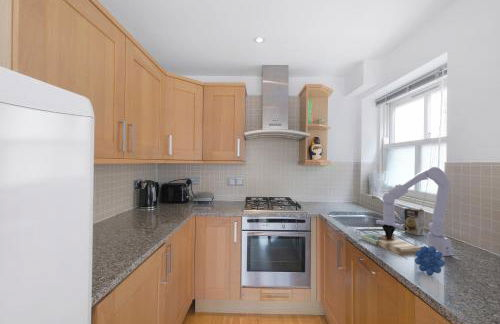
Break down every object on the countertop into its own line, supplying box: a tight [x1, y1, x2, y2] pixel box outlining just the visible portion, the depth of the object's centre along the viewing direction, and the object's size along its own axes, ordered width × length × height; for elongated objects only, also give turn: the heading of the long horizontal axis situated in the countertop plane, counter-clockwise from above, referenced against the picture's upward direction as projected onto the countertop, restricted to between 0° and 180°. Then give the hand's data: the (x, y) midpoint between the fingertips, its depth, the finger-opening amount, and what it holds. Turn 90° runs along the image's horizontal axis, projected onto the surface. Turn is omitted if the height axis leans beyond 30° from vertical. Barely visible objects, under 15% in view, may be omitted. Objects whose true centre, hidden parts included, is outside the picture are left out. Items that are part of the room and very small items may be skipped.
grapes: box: [414, 245, 446, 276], centre depth 102 cm, size 12×7×12 cm, turn 20°
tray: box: [359, 233, 383, 246], centre depth 148 cm, size 13×14×2 cm
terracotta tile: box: [381, 233, 396, 240], centre depth 143 cm, size 5×5×2 cm
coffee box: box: [404, 207, 425, 236], centre depth 166 cm, size 9×6×16 cm
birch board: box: [377, 238, 422, 256], centre depth 133 cm, size 16×12×3 cm
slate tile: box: [372, 233, 382, 240], centre depth 149 cm, size 5×5×2 cm
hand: (389, 239), depth 139 cm, fingers closed
